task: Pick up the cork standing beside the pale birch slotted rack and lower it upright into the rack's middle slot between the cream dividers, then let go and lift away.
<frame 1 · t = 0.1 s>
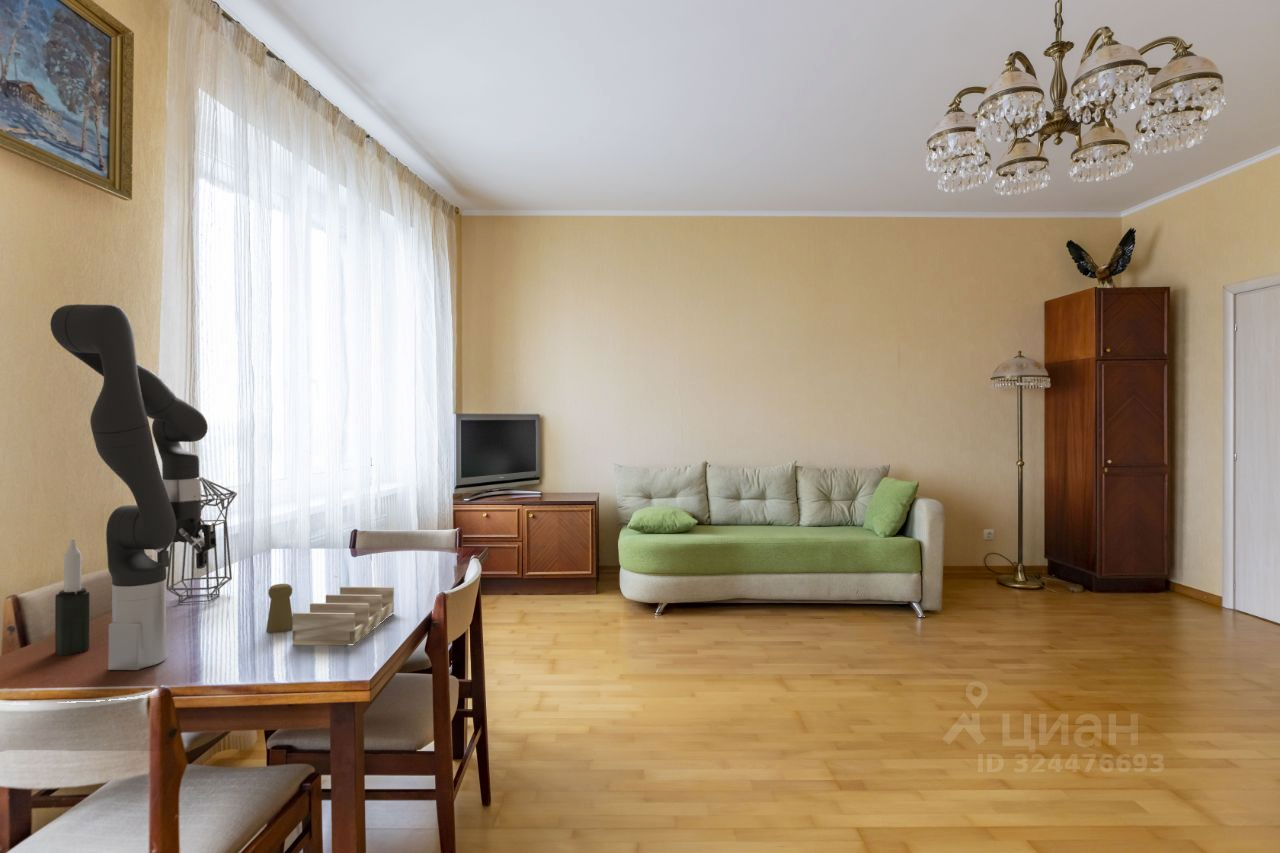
hand: (182, 567, 156), 17 cm above the table, tool pointing down, fingers open, 8 cm apart
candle: (72, 651, 150), on the table
geometric lantern: (198, 600, 193), on the table
slot rack: (346, 628, 168), on the table
cork: (280, 629, 167), on the table
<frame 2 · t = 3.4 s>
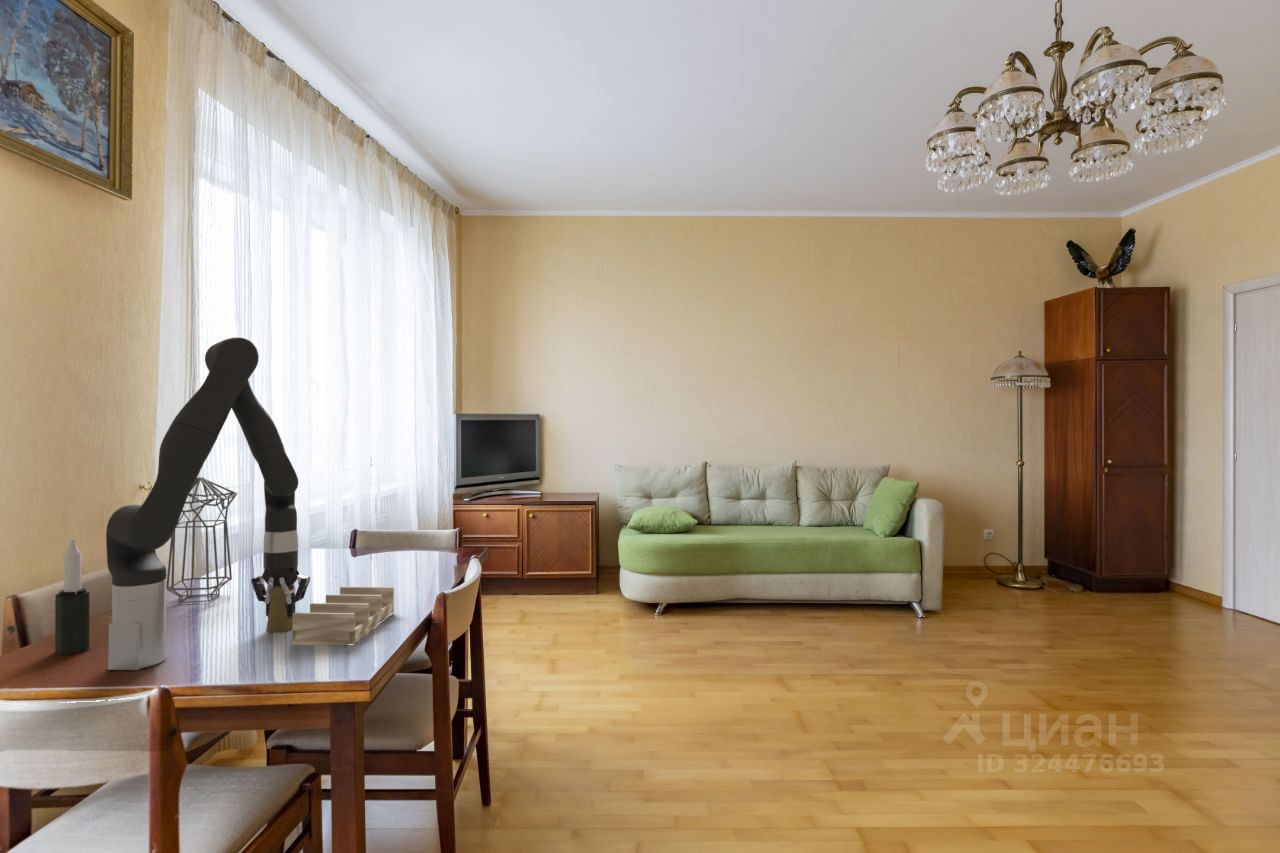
hand: (280, 617, 167), 3 cm above the table, tool pointing down, fingers closed on cork, 4 cm apart
cork: (280, 629, 167), on the table, touching gripper
everything else where it was.
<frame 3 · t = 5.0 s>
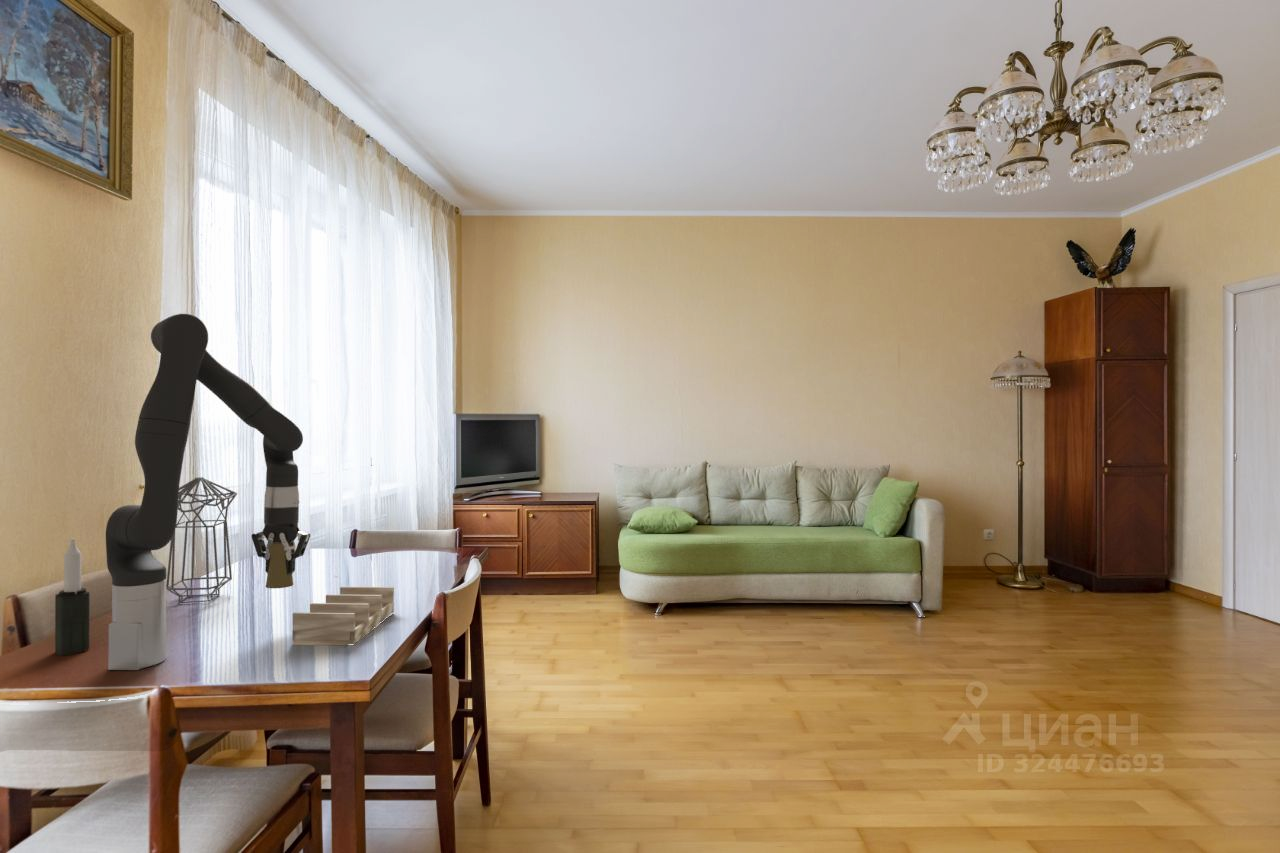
hand: (280, 574, 166), 14 cm above the table, tool pointing down, fingers closed on cork, 4 cm apart
cork: (279, 586, 166), point 11 cm above the table, touching gripper
everything else where it was.
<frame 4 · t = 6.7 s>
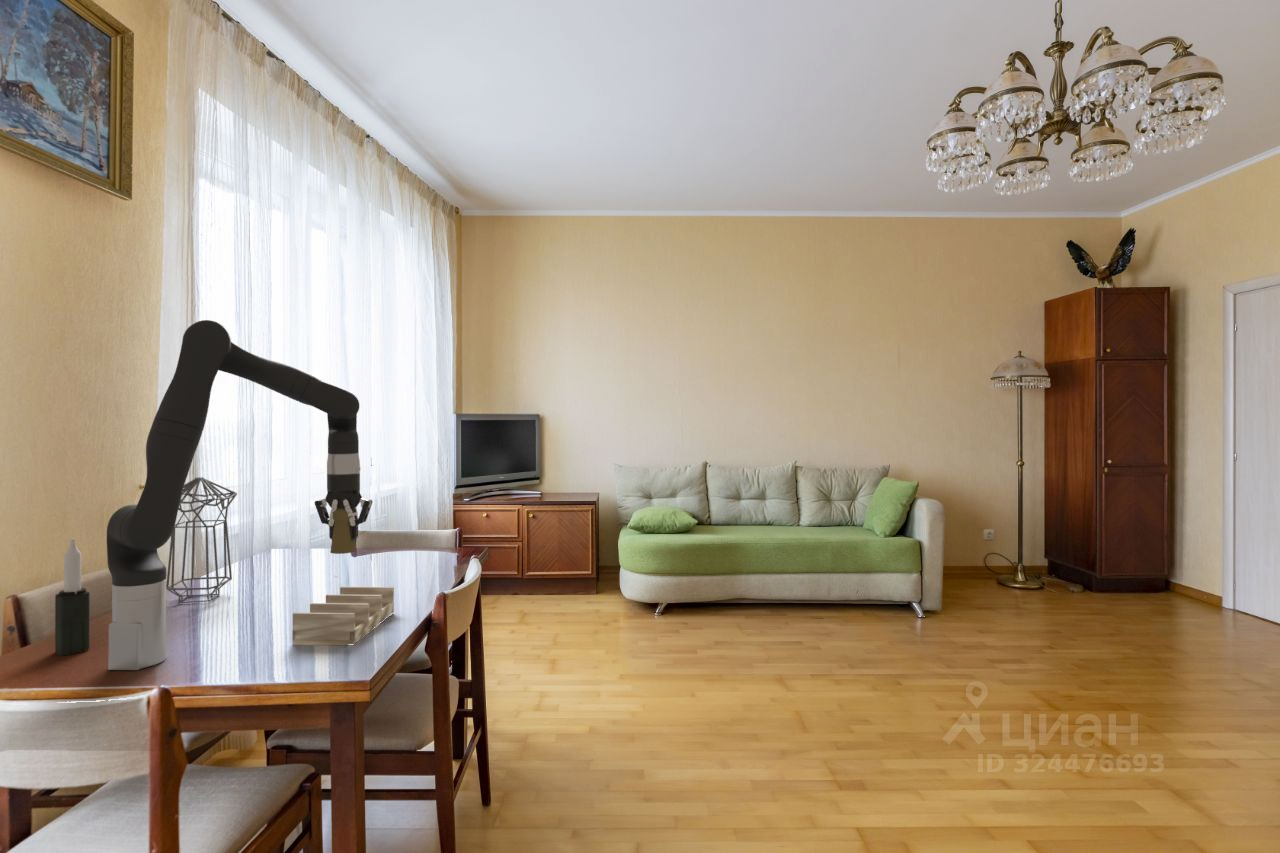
hand: (344, 540, 168), 22 cm above the table, tool pointing down, fingers closed on cork, 4 cm apart
cork: (343, 552, 168), point 19 cm above the table, touching gripper
everything else where it was.
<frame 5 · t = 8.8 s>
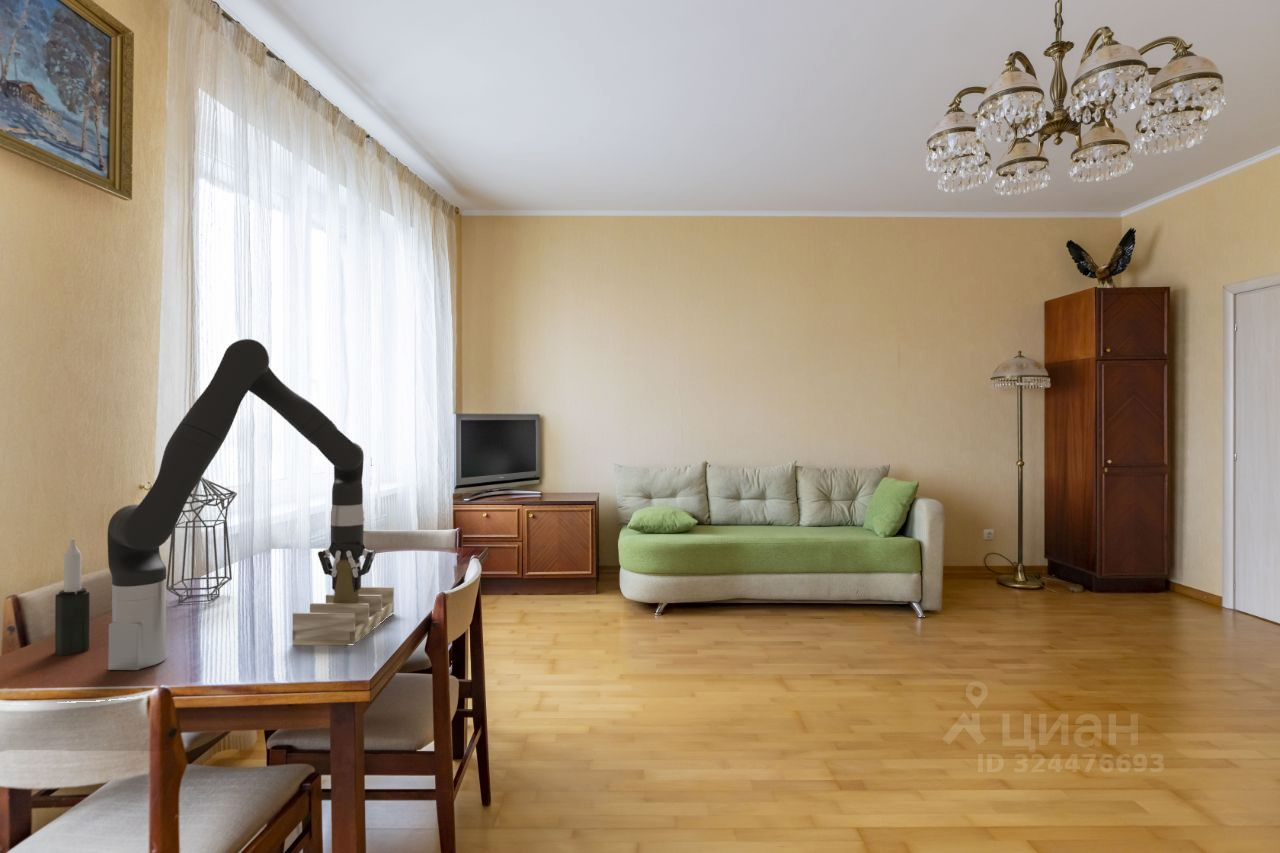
hand: (346, 591, 168), 9 cm above the table, tool pointing down, fingers closed on cork, 4 cm apart
cork: (346, 603, 168), point 6 cm above the table, touching gripper
everything else where it was.
when the fingers open (5 cm above the table, at t = 10.0 s): cork drops 1 cm, resting on slot rack.
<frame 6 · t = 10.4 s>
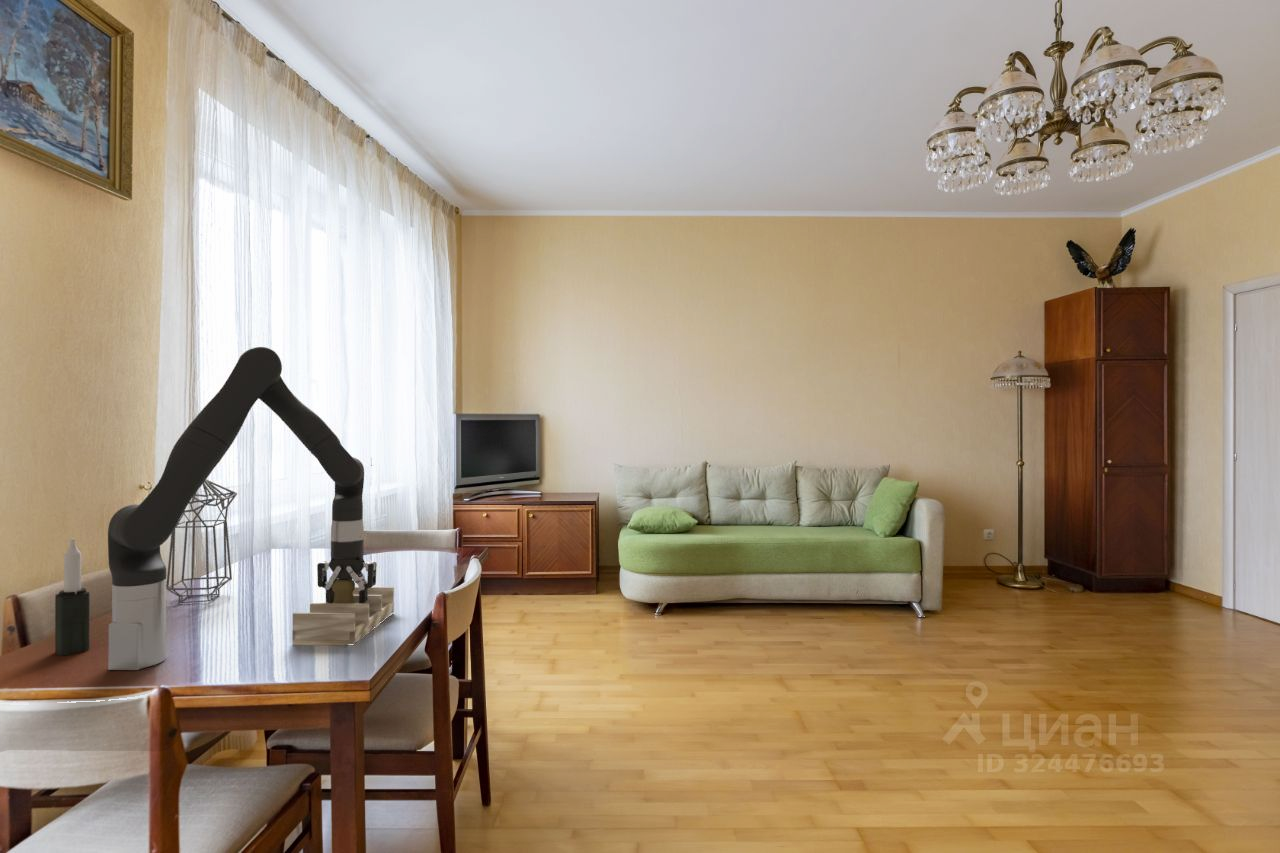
hand: (346, 604, 168), 6 cm above the table, tool pointing down, fingers open, 7 cm apart
cork: (343, 624, 168), point 1 cm above the table, touching slot rack
everything else where it was.
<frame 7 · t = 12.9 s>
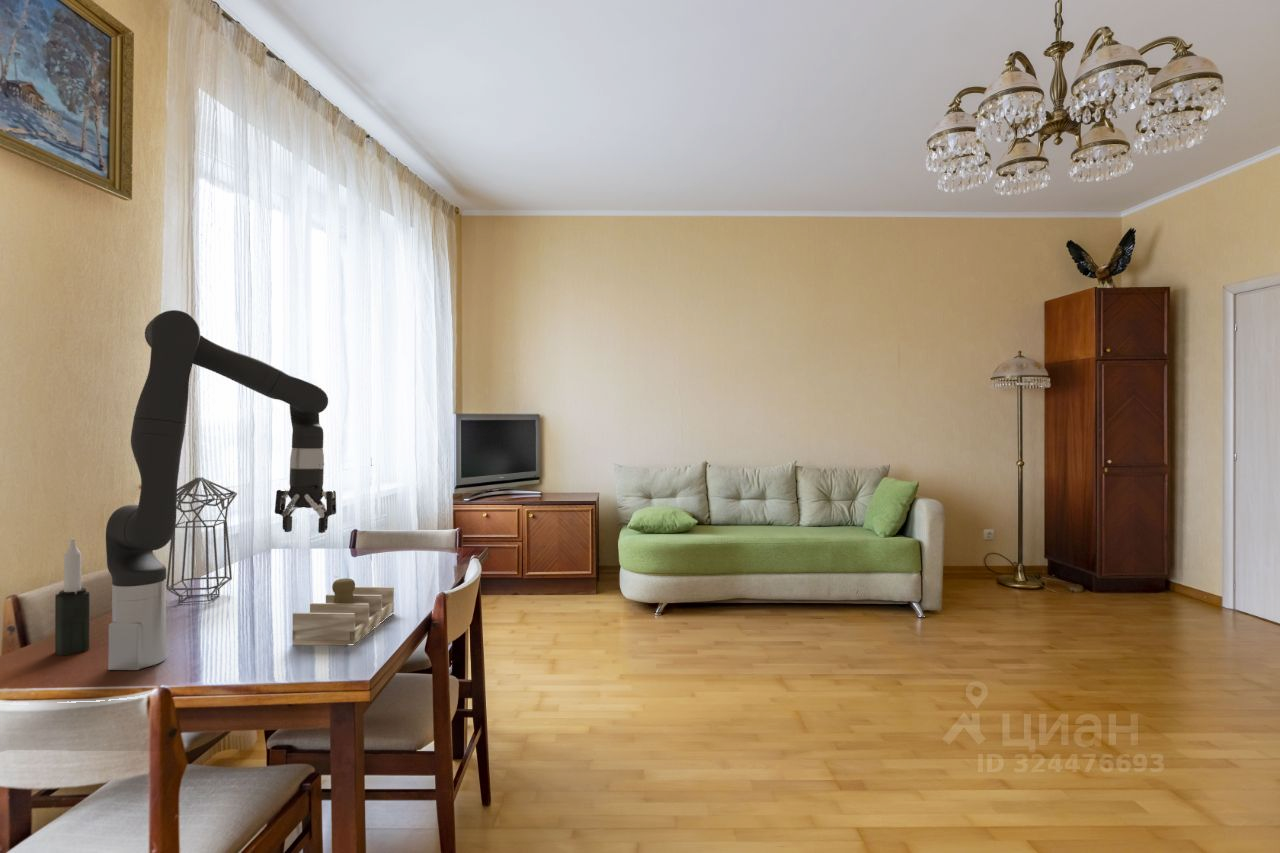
hand: (305, 532, 167), 24 cm above the table, tool pointing down, fingers open, 8 cm apart
nothing on the table moved.
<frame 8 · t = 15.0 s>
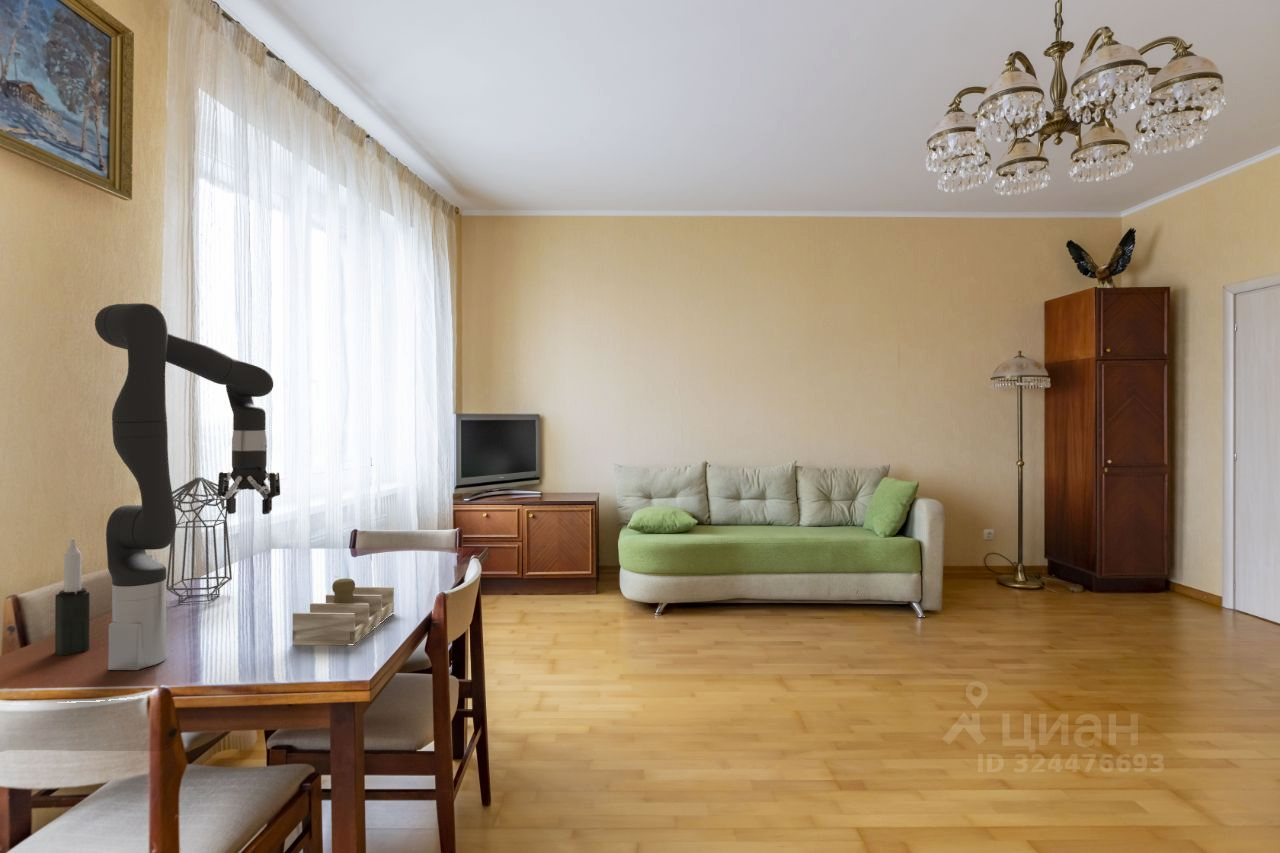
hand: (249, 513, 169), 28 cm above the table, tool pointing down, fingers open, 8 cm apart
nothing on the table moved.
at the end: cork inside the target area on the slot rack (0.8 cm from its centre), point 1.0 cm above the slot rack's base; cork tilted 0°; the gripper is holding nothing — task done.
